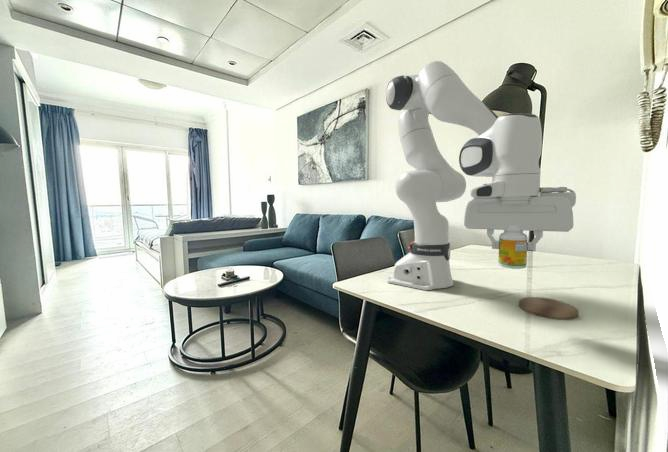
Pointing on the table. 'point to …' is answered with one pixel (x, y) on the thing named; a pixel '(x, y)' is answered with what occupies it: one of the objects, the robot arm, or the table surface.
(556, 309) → the walnut coaster
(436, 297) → the table surface
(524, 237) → the supplement bottle
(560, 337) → the table surface
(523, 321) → the table surface
